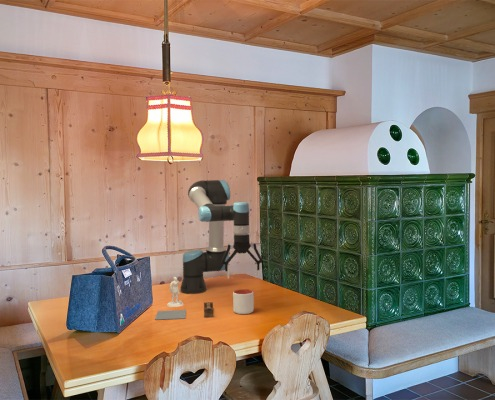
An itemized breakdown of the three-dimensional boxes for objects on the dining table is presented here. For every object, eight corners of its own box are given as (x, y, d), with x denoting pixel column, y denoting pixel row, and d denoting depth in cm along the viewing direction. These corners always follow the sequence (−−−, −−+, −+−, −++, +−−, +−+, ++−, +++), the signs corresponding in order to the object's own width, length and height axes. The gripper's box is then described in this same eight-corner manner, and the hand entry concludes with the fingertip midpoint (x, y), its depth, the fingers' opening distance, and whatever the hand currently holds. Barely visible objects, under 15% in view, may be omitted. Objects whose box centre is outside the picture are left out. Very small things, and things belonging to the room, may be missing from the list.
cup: (229, 312, 234) (228, 292, 233) (243, 308, 241) (242, 288, 240) (244, 316, 227) (243, 295, 226) (258, 311, 234) (257, 291, 234)
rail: (204, 310, 237) (203, 302, 237) (212, 310, 238) (212, 302, 238) (204, 317, 225) (204, 309, 225) (213, 317, 226) (213, 308, 226)
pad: (157, 311, 236) (157, 311, 236) (186, 310, 238) (186, 309, 238) (155, 320, 222) (154, 319, 222) (185, 318, 224) (185, 318, 224)
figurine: (169, 307, 244) (168, 278, 243) (164, 303, 252) (164, 275, 251) (185, 305, 247) (185, 276, 246) (181, 301, 255) (180, 273, 255)
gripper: (216, 235, 227) (216, 280, 228) (268, 234, 229) (268, 278, 230) (215, 233, 235) (216, 276, 235) (266, 232, 237) (266, 275, 238)
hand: (242, 277), depth 233 cm, fingers open, 13 cm apart
